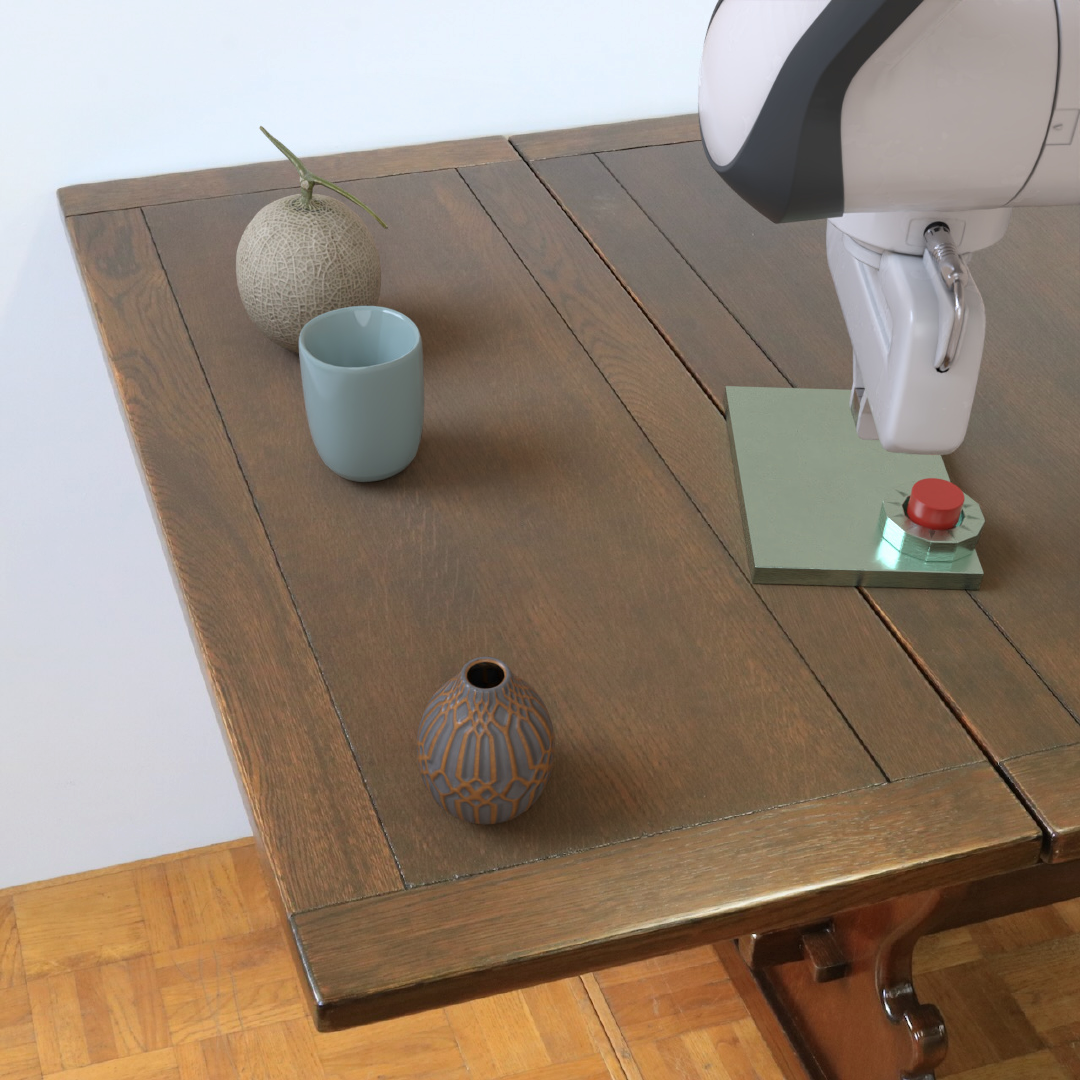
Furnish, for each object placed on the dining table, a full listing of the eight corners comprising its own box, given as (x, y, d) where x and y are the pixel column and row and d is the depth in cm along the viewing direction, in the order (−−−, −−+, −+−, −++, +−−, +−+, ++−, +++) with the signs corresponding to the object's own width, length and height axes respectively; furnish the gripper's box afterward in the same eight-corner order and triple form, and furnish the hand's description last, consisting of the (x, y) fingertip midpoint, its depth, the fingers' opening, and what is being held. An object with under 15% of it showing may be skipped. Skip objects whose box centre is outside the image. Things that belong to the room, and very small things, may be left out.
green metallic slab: (986, 590, 82) (998, 553, 80) (752, 583, 82) (758, 546, 80) (920, 407, 97) (928, 372, 95) (723, 401, 97) (727, 366, 95)
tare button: (963, 532, 82) (970, 510, 81) (911, 530, 82) (917, 508, 81) (952, 500, 84) (958, 478, 83) (902, 498, 84) (907, 476, 83)
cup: (401, 419, 94) (394, 295, 88) (444, 480, 89) (441, 352, 82) (295, 446, 91) (281, 319, 85) (334, 510, 86) (321, 380, 80)
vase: (433, 734, 72) (429, 616, 66) (560, 750, 71) (566, 631, 65) (406, 837, 66) (398, 718, 61) (543, 855, 66) (547, 736, 60)
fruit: (373, 388, 97) (361, 197, 88) (225, 368, 99) (196, 179, 89) (412, 317, 105) (404, 135, 96) (274, 299, 107) (253, 119, 97)
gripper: (1044, 290, 55) (969, 549, 63) (943, 105, 71) (894, 332, 79) (891, 285, 55) (837, 544, 63) (824, 101, 71) (788, 328, 79)
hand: (868, 425), depth 71 cm, fingers closed
